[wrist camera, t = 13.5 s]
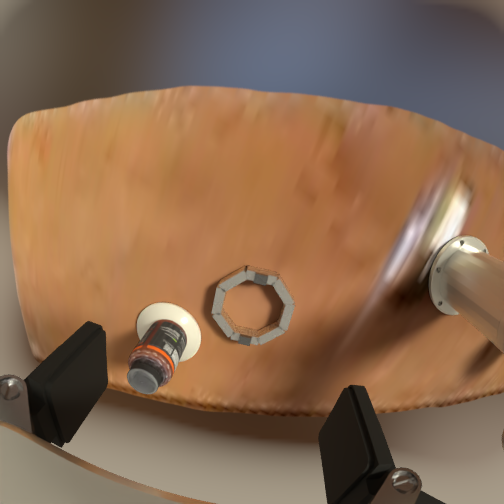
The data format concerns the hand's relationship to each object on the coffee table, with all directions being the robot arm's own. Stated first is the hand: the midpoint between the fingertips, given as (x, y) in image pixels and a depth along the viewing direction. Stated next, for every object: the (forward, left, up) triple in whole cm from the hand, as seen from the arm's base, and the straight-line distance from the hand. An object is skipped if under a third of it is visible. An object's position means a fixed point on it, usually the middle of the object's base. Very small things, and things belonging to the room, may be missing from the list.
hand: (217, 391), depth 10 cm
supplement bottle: (+9, +17, -28) cm, 34 cm away
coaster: (+9, +17, -28) cm, 34 cm away
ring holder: (-2, +9, -28) cm, 30 cm away
